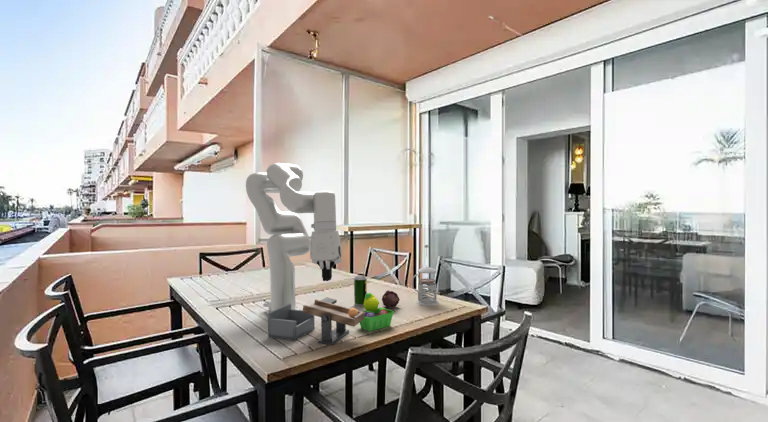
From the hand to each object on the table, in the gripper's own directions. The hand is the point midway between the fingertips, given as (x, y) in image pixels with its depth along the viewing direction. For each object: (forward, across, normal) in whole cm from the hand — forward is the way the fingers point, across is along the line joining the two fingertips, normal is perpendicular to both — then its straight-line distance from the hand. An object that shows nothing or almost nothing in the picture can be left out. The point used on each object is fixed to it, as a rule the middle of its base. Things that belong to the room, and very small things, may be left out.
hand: (327, 280), depth 127 cm
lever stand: (+17, +6, -8) cm, 19 cm away
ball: (+8, +13, -8) cm, 17 cm away
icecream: (+17, +12, +32) cm, 38 cm away
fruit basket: (+17, +14, +6) cm, 23 cm away
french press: (+17, +24, +42) cm, 52 cm away
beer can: (+16, -2, +32) cm, 36 cm away
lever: (+10, +6, -4) cm, 12 cm away
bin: (+16, -10, -8) cm, 20 cm away
